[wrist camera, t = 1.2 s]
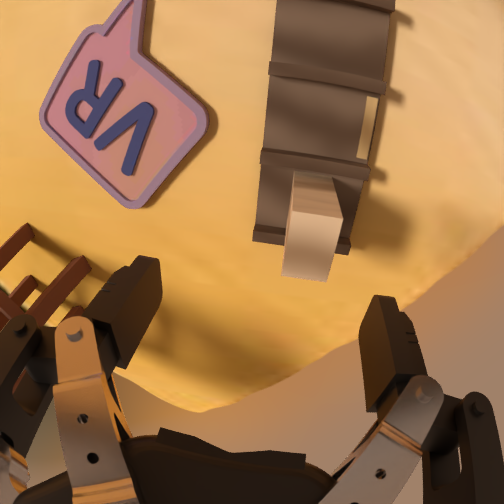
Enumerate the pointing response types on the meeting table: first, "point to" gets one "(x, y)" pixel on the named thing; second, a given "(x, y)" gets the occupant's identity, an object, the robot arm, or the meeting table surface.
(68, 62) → the icon
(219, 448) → the robot arm
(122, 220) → the meeting table surface
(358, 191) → the notched ledge
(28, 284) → the stool
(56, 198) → the meeting table surface
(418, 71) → the meeting table surface
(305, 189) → the oak block
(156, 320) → the meeting table surface
